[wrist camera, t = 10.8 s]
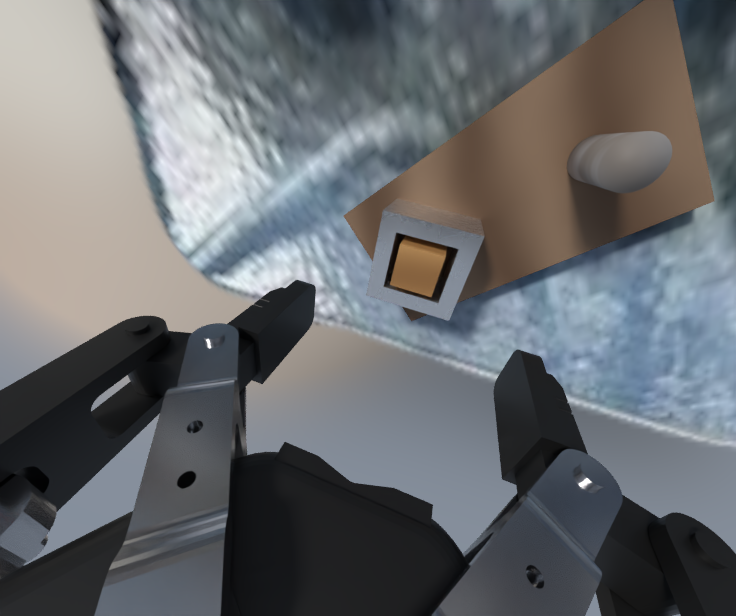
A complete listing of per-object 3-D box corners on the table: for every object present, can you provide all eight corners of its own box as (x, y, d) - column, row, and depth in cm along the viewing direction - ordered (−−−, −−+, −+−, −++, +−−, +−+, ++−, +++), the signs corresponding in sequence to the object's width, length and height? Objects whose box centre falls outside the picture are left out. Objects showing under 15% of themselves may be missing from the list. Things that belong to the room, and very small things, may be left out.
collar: (397, 198, 18) (382, 210, 15) (480, 219, 18) (484, 236, 14) (380, 272, 22) (366, 295, 18) (451, 292, 21) (448, 321, 17)
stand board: (648, -2, 12) (770, -98, 8) (694, 196, 15) (804, 221, 10) (350, 211, 21) (316, 231, 16) (414, 312, 24) (401, 355, 19)
